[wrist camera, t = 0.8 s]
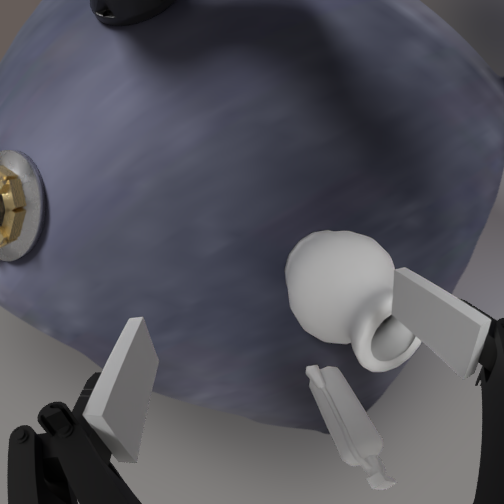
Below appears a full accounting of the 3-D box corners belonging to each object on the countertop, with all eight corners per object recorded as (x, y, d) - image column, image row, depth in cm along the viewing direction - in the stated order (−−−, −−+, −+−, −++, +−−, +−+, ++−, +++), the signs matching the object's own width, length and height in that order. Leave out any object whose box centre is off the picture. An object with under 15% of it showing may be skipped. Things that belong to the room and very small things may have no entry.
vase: (280, 219, 39) (340, 260, 19) (370, 224, 40) (465, 261, 21) (272, 314, 42) (311, 407, 23) (356, 310, 44) (426, 382, 25)
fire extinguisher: (323, 347, 45) (389, 465, 21) (351, 380, 48) (409, 478, 25) (290, 369, 45) (337, 494, 22) (323, 399, 49) (369, 501, 25)
